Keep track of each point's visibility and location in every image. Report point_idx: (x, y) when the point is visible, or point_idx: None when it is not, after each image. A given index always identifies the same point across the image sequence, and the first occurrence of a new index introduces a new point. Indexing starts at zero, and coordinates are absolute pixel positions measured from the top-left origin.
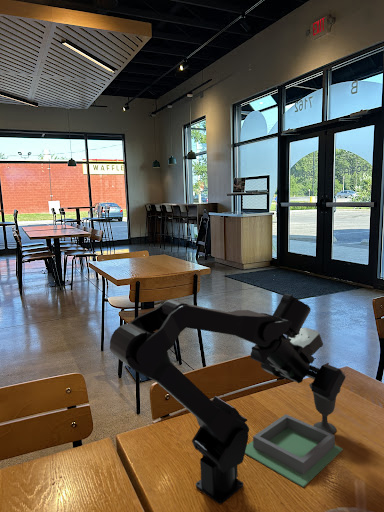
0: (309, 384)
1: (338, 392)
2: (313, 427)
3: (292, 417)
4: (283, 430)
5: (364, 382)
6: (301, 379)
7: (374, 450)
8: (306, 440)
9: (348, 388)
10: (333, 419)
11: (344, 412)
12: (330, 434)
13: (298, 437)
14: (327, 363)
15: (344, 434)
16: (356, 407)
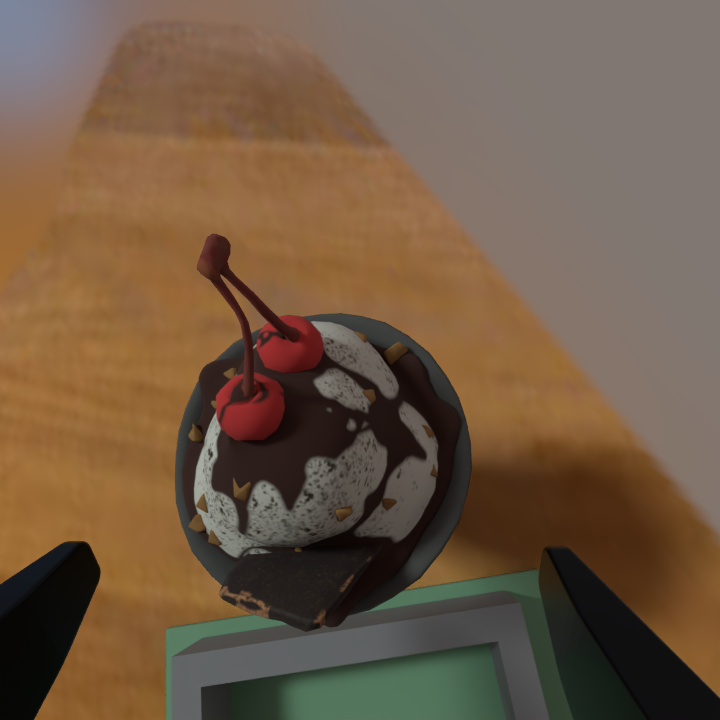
0: (186, 535)
1: (466, 429)
2: (385, 638)
3: (226, 654)
4: (232, 710)
5: (246, 55)
6: (77, 573)
7: (615, 442)
8: (379, 678)
9: (227, 131)
10: None
11: (331, 292)
12: (500, 617)
13: (332, 693)
14: (214, 262)
15: None
16: (340, 222)
